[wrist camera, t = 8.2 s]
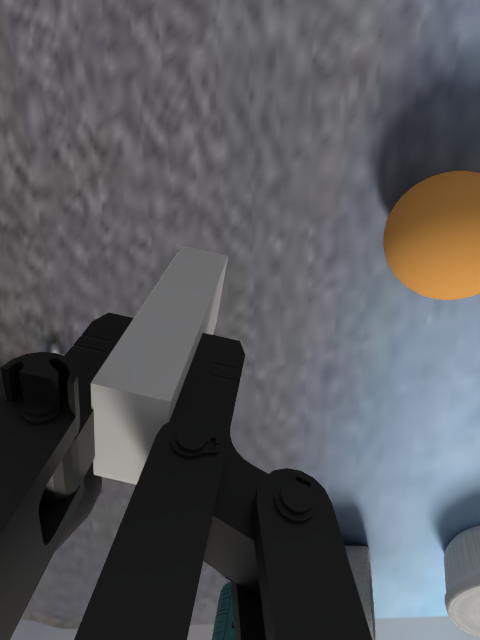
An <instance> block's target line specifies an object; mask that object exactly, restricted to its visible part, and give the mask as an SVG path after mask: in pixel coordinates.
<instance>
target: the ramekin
mask: <svg viewBox="0 0 480 640" xmlns="http://www.w3.org/2000/svg"><path fill="white" fill-rule="evenodd" d="M444 567H445V582H446V594H445V605H446V609H447V613H448V615H449V617H450V618H451V620H452V621H453V623H454V624H456V625H457V626H458V627H459V628H460V629H462V630H464V631H466V632H468V633H470V634H473V635H476V636H478V637H480V525H479V526H475V527H472V528H469V529H467V530H465V531H463V532H461V533H459V534H458V535H457V536H455V537H454V538H453V539H452V540H451V542H450V543H449V545H448V546H447V548H446V551H445V554H444Z"/></svg>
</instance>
